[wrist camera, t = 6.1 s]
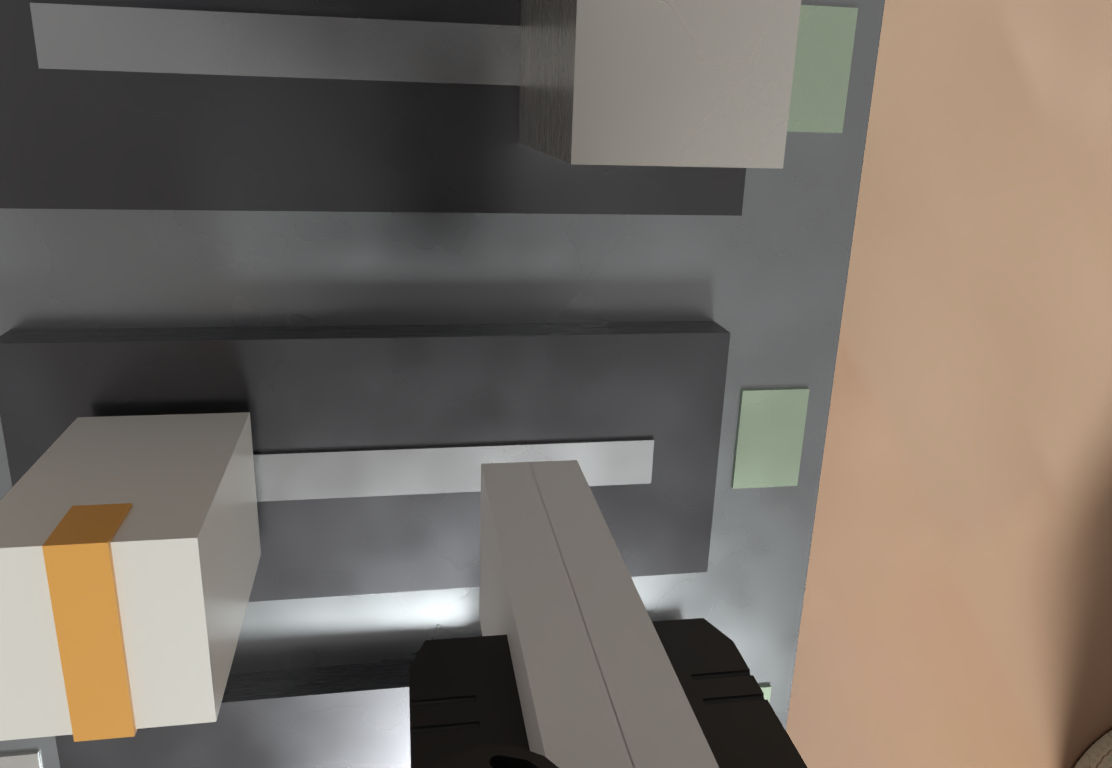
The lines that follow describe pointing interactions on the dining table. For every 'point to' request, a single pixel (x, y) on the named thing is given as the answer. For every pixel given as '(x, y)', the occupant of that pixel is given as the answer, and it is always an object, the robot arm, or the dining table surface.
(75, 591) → the block
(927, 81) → the dining table surface
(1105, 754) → the mug
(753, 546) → the panel
